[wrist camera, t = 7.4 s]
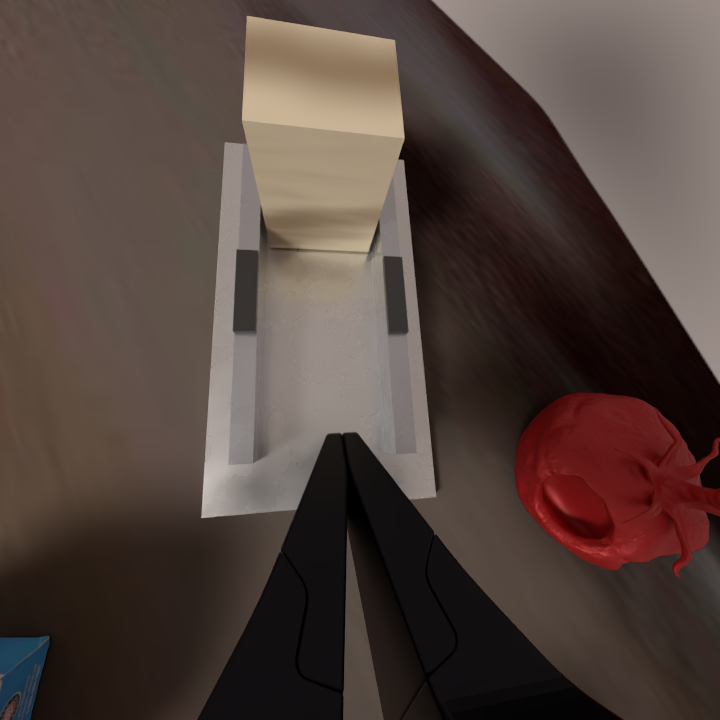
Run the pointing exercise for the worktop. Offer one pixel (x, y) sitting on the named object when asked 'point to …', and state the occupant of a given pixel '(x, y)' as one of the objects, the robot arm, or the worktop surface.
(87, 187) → the worktop surface
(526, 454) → the pomegranate
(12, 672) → the ink box
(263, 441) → the chute
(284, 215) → the block
